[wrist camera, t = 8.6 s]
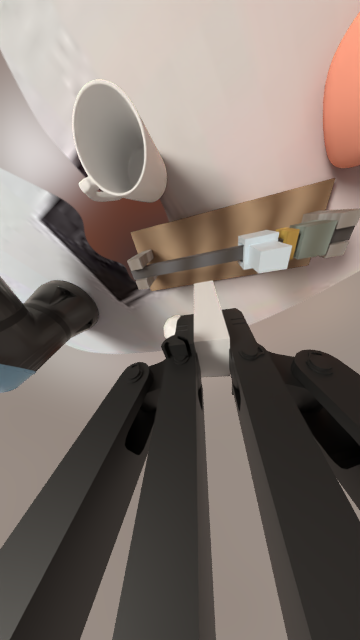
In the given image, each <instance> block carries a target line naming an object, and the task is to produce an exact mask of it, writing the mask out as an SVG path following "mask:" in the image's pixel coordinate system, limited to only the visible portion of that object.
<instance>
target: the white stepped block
mask: <svg viewBox="0 0 360 640" xmlns="http://www.w3.org/2000/svg"><path fill="white" fill-rule="evenodd" d="M278 237H279V232H276V231H271V230H264V231H259V232H254V233H250V234H245V235H241V236H238V246H240V245H244V248H243V260H238V264H239V265H240V266H241V267H242V268H243V269H244V270H245V269H251V268H253V269H254V270H255V271H256V272H257V273H264V272H271V271H277V270H283V269H287V267H288V262H289V258H290V254H291V249H292V245H288V244H285V243H282V242H278Z"/></svg>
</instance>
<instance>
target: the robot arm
mask: <svg viewBox="0 0 360 640" xmlns="http://www.w3.org/2000/svg"><path fill="white" fill-rule="evenodd" d="M98 316H99V314H98V309H97V307H96V305H95V303H94V302H93V300H92V299H91V298H90V297H89V296H88V295H87V294H86V293H85V292H84V291H83V290H81V289H80V288H79V287H77V286H75V285H73V284H71V283H68V282H65V281H60V280H54V281H50V282H48V283H45V284H43V285H41V286H40V287H39V288H38V289H37V290H36V291H35V292H34V293H33V294H32V295H31V296H30V297H29V299H28V300H27V301H26V302H25V303H22V302H21V301H20V300H19V299H18V298H17V296H16V295H15V294H14V293H13V291H12V290H11V289H10V288H9V286H8V285H7V284H6V283H5V282H4V280H3V279H2V278H1V277H0V392H8V391H11V390H13V389H15V388H17V387H18V386H19V385H21V384H22V383H23V382H24V381H25V380H27V379H28V378H29V377H30V376H31V375H33V374H35V373H36V371H37V370H38V369H39V368H40V367H41V366H42V365H43V364H44V363H45V362H46V361H47V360H48V359H49V358H50V357H51V356H52V355H53V354H54V353H56V352H57V351H58V350H59V349H60V348H61V347H62V346H63V345H64V344H65V343H66V342H67V341H68V340H69V339H70V338H71V337H74V336H76V335H78V334H80V333H82V332H84V331H86V330H88V329H90V328H91V327H92V326H93V325H94V324H95V323H96V322H97V320H98ZM175 331H176V332H175V335H172V336H170V337H169V338H167V339H166V340H165V341H164V342H163V344H162V346H161V347H162V350H163V352H164V354H165V357H166V359H165V360H164V361H162V362H160V363H158V364H155V365H152V366H149V367H148V365H147V364H146V363H143V362H137V363H134V364H132V365H130V366H129V367H127V368H126V369H125V371H124V372H123V373H122V374H121V376H120V377H119V379H118V380H117V382H116V383H115V384H114V386H113V387H112V389H111V390H110V392H109V393H108V395H107V396H106V397H105V399H104V400H103V402H102V403H101V405H100V406H99V408H98V409H97V411H96V412H95V413H94V415H93V416H92V418H91V419H90V421H89V422H88V423H87V425H86V426H85V428H84V429H83V431H82V432H81V434H80V435H79V437H78V438H77V440H76V441H75V442H74V444H73V445H72V447H71V448H70V449H69V451H68V452H67V454H66V455H65V457H64V458H63V460H62V461H61V462H60V464H59V465H58V467H57V468H56V470H55V471H54V473H53V474H52V475H51V477H50V479H49V480H48V481H47V483H46V484H45V486H44V487H43V488H42V490H41V492H40V493H39V494H38V496H37V497H36V499H35V500H34V501H33V503H32V504H31V506H30V507H29V509H28V510H27V512H26V513H25V515H24V516H23V517H22V519H21V520H20V522H19V523H18V525H17V526H16V527H15V529H14V530H13V532H12V533H11V535H10V536H9V538H8V539H7V541H6V542H5V543H4V545H3V547H2V548H1V549H0V640H80V637H81V635H82V632H83V629H84V627H85V624H86V621H87V618H88V616H89V613H90V610H91V607H92V605H93V602H94V599H95V597H96V593H97V591H98V588H99V585H100V583H101V580H102V577H103V574H104V572H105V569H106V566H107V563H108V561H109V558H110V555H111V552H112V550H113V547H114V544H115V542H116V539H117V536H118V533H119V531H120V528H121V525H122V523H123V520H124V517H125V514H126V512H127V508H128V506H129V503H130V501H131V498H132V495H133V492H134V490H135V487H136V484H137V481H138V478H139V476H140V473H141V470H142V468H143V465H144V462H145V459H146V457H147V454H148V457H147V462H146V468H145V472H144V478H143V483H142V488H141V493H140V499H139V504H138V509H137V514H136V519H135V525H134V530H133V535H132V541H131V546H130V550H129V556H128V561H127V566H126V571H125V576H124V582H123V587H122V592H121V597H120V603H119V608H118V613H117V618H116V623H115V628H114V634H113V639H112V640H216V634H215V615H214V597H213V577H212V558H211V539H210V522H209V521H210V520H209V502H208V482H207V463H206V445H205V425H204V406H203V388H202V384H201V377H218V376H230V374H231V378H232V395H234V398H235V402H236V406H237V411H238V416H239V420H240V425H241V429H242V433H243V438H244V443H245V447H246V452H247V456H248V461H249V465H250V470H251V474H252V479H253V483H254V488H255V493H256V497H257V502H258V506H259V511H260V515H261V520H262V524H263V529H264V533H265V538H266V542H267V546H268V551H269V555H270V560H271V564H272V569H273V574H274V578H275V583H276V587H277V592H278V596H279V601H280V605H281V610H282V614H283V619H284V623H285V628H286V633H287V636H288V640H360V521H359V519H358V517H357V515H356V513H355V512H354V510H353V508H352V506H351V504H350V502H349V501H348V499H347V497H346V495H345V493H344V491H343V490H342V488H341V486H340V484H341V485H342V486H343V488H344V489H345V490H346V492H347V493H348V495H349V496H350V497H351V499H352V500H353V501H354V503H355V504H356V506H357V507H358V508H359V510H360V375H359V374H358V373H356V372H355V371H353V370H352V369H351V368H349V367H348V366H347V365H345V364H344V363H342V362H341V361H340V360H338V359H336V358H335V357H333V356H331V355H329V354H327V353H324V352H321V351H316V350H302V351H300V352H298V353H297V354H296V356H295V357H291V356H285V355H279V354H275V353H271V352H268V351H267V350H266V349H265V348H264V347H263V346H261V345H259V344H258V343H257V342H256V340H255V338H254V336H253V334H252V332H251V330H250V328H249V326H248V324H247V322H246V320H245V319H244V316H243V314H242V312H241V311H239V310H238V309H236V308H233V309H225V310H221V307H220V304H219V300H218V297H217V293H216V290H215V287H214V283H213V280H212V281H207V282H201V283H195V284H194V314H191V315H184V316H180V318H179V319H178V320H177V324H176V330H175ZM148 451H149V452H148ZM336 478H337V479H336ZM338 481H339V482H340V484H339V482H338Z"/></svg>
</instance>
